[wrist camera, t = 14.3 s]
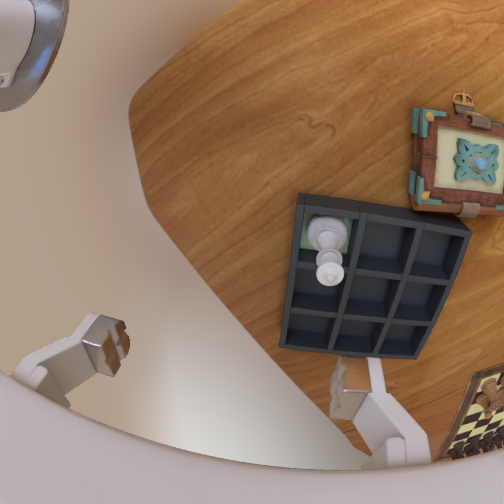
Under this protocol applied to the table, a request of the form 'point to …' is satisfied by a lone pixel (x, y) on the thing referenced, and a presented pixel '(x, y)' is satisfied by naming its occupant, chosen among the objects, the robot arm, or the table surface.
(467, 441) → the chessboard
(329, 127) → the table surface
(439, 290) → the grid
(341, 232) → the chess piece
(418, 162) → the decorative book
